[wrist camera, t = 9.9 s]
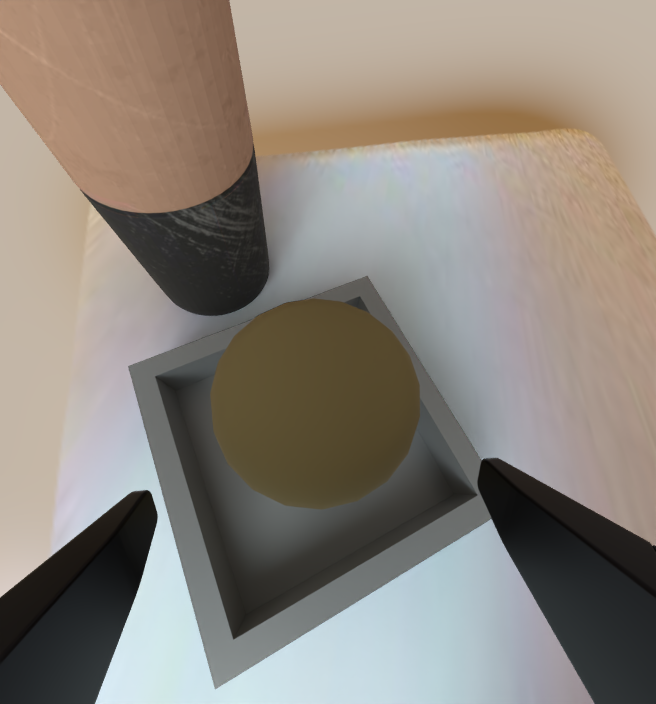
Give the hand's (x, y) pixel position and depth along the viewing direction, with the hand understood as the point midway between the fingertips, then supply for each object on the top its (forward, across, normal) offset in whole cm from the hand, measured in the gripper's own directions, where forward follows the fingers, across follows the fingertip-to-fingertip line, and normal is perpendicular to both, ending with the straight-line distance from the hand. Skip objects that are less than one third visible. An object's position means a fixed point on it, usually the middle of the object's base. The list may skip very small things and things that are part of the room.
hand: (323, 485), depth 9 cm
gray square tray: (+8, 0, +5) cm, 9 cm away
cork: (+7, 0, +4) cm, 8 cm away
